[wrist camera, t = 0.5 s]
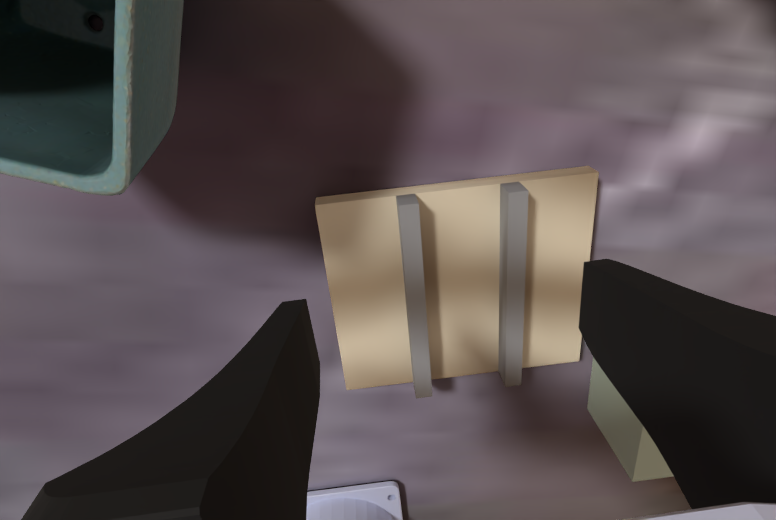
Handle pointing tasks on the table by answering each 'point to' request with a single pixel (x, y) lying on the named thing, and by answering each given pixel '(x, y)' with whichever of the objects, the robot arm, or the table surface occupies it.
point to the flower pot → (86, 89)
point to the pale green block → (624, 430)
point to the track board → (458, 276)
